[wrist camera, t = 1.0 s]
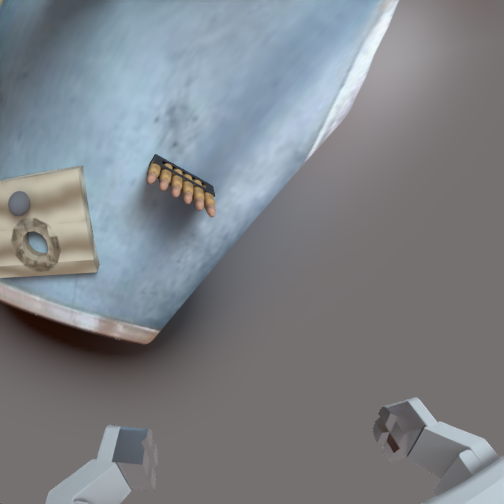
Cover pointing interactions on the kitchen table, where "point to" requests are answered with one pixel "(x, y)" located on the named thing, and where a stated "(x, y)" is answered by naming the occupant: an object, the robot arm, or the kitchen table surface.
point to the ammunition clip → (182, 184)
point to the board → (47, 225)
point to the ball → (19, 203)
